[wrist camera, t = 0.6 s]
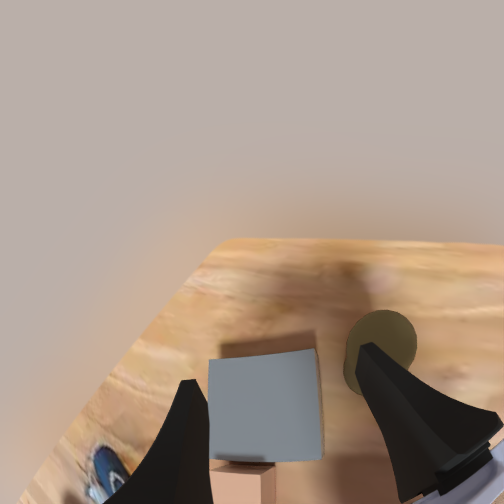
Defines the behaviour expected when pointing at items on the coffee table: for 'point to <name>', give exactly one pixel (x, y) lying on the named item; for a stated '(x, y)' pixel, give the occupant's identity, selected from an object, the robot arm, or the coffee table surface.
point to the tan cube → (243, 484)
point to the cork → (380, 341)
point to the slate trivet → (266, 408)
